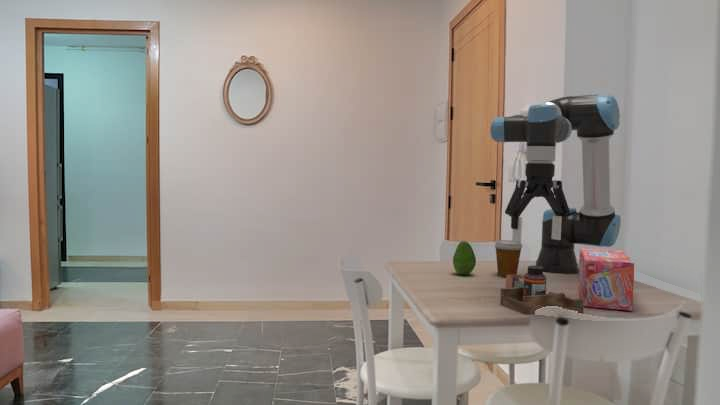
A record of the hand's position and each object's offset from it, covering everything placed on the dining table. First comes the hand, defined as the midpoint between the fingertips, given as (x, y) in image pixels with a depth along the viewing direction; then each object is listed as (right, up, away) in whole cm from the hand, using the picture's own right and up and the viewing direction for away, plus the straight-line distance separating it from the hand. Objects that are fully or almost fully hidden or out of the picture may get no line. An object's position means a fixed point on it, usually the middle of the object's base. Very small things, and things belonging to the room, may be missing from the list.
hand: (536, 240), depth 149 cm
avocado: (-12, -15, +43) cm, 47 cm away
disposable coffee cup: (+4, -16, +43) cm, 46 cm away
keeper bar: (+1, -17, +16) cm, 24 cm away
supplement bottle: (0, -19, +1) cm, 19 cm away
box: (+24, -19, +13) cm, 33 cm away
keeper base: (+2, -19, 0) cm, 19 cm away
